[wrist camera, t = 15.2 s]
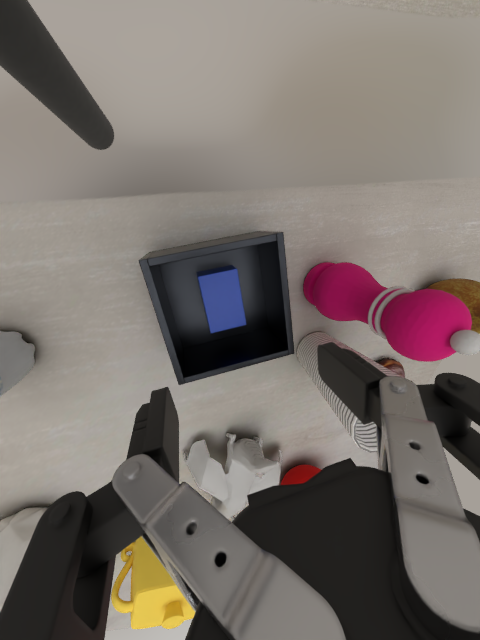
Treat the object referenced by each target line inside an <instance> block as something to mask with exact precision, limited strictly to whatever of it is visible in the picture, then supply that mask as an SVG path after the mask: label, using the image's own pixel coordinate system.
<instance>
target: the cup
mask: <svg viewBox="0 0 480 640" xmlns="http://www.w3.org/2000/svg"><path fill="white" fill-rule="evenodd" d="M329 342H333V343H335V344H336V345H338V346H339V347H340V348H341V349H342V348H345V349H348V350H351V351H354V352H355V353H356V354H358V355H359V356H361V358H363V359H365V360H366V361H367V362H369V363H370V364H372V365H373V366H374V367H376V368H377V369H379V370H380V371H381V372H383V373H384V374H386V375H387V376H397V377H401V376H399V375H398V374H396V373H394V372H392V371H391V370H389V369H387V368H385V367H383V366H382V365H380V364H378V363H376V362H375V361H373V360H371V359H369V358H368V357H366V356H364V355H362V354H360V353H359V352H357V351H355V350H353V349H352V348H350V347H348V346H346V345H344V344H343V343H341V342H339V341H337V340H336V339H334V338H332V337H330V336H328V335H327V334H325V333H322V332H314V333H311V334H308V335H307V336H306V337H304V338H303V339H302V340H301V342H300V343H299V345H298V348H297V358H298V360H299V361H300V363H301V364H302V366H303V367H304V369H305V370H306V372H307V373H308V375H309V376H310V378H311V379H312V380H313V382H314V383H315V385H316V386H317V388H318V389H319V391H320V392H321V394H322V395H323V396H324V398H325V399H326V401H327V402H328V404H329V405H330V407H331V408H332V410H333V411H334V413H335V414H336V415H337V417H338V418H339V420H340V421H341V423H342V424H343V426H344V427H345V429H346V430H347V431H348V433H349V434H350V436H351V437H352V439H353V440H354V442H355V443H356V445H357V446H358V447H359V448H360V449H363V450H365V451H367V452H377V440H376V424H375V423H374V422H371V423H368V424H365V425H363V424H362V422H361V421H360V420H359V419H358V418H357V417H356V416H355V415H354V414H353V413H352V412H351V411H350V410H349V408H348V407H347V406H346V405H345V404H344V403H343V402H342V401H341V400H340V399H339V398H338V397H337V396H336V395H335V393H334V392H333V391H332V390H331V389H330V388H329V387H328V386H327V385H326V384H325V383H324V382H323V380H322V379H321V377H320V375H319V372H318V356H317V347H318V346H319V345H322V344H326V343H329ZM402 378H403V377H402Z"/></svg>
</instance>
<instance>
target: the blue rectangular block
mask: <svg viewBox="0 0 480 640" xmlns="http://www.w3.org/2000/svg"><path fill="white" fill-rule="evenodd" d="M196 274H197V279H198V283H199V287H200V292H201V296H202V300H203V304H204V309H205V313H206V317H207V322H208V326H209V329H210V333H215V332H219V331H223V330H227V329H231V328H235V327H239V326H243V325H246V319H245V313H244V307H243V301H242V295H241V289H240V283H239V277H238V271H237V268H235V267H234V266H233V265H229V266H224V267H220V268H215V269H210V270H205V271H200V272H196Z"/></svg>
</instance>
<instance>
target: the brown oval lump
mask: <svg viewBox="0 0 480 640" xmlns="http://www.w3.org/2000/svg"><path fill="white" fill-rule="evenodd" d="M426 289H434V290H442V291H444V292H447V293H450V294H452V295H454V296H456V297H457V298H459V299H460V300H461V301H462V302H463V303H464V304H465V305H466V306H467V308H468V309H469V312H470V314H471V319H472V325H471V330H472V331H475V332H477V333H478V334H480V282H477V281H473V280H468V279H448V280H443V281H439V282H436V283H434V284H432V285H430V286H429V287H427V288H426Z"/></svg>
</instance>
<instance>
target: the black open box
mask: <svg viewBox="0 0 480 640" xmlns="http://www.w3.org/2000/svg"><path fill="white" fill-rule="evenodd" d="M139 263H140V266H141V269H142V272H143V275H144V279H145V282H146V285H147V288H148V291H149V294H150V297H151V300H152V303H153V306H154V310H155V313H156V316H157V319H158V322H159V325H160V328H161V331H162V334H163V337H164V341H165V344H166V347H167V350H168V353H169V356H170V359H171V362H172V365H173V368H174V371H175V375H176V378H177V381H178V384H179V385H181V384H185V383H188V382H192V381H195V380H199V379H203V378H206V377H210V376H214V375H217V374H221V373H225V372H228V371H232V370H236V369H239V368H243V367H246V366H250V365H254V364H257V363H261V362H265V361H268V360H272V359H276V358H279V357H283V356H287V355H290V354H294V343H293V332H292V322H291V311H290V300H289V289H288V279H287V268H286V257H285V246H284V236H283V232H269V231H257V232H251V233H246V234H241V235H236V236H231V237H225V238H220V239H215V240H210V241H205V242H199V243H194V244H189V245H184V246H179V247H173V248H168V249H163V250H158V251H153V252H149V253H148V254H146V255H145V256H144V257H143V258H141V259H140V260H139ZM229 265H233V266H234V267H235V268H237V271H238V277H239V283H240V289H241V295H242V301H243V307H244V313H245V319H246V325H243V326H239V327H235V328H231V329H227V330H223V331H219V332H215V333H210V329H209V326H208V322H207V317H206V313H205V309H204V304H203V300H202V296H201V292H200V287H199V283H198V279H197V274H196V272H200V271H205V270H210V269H215V268H220V267H224V266H229Z"/></svg>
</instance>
